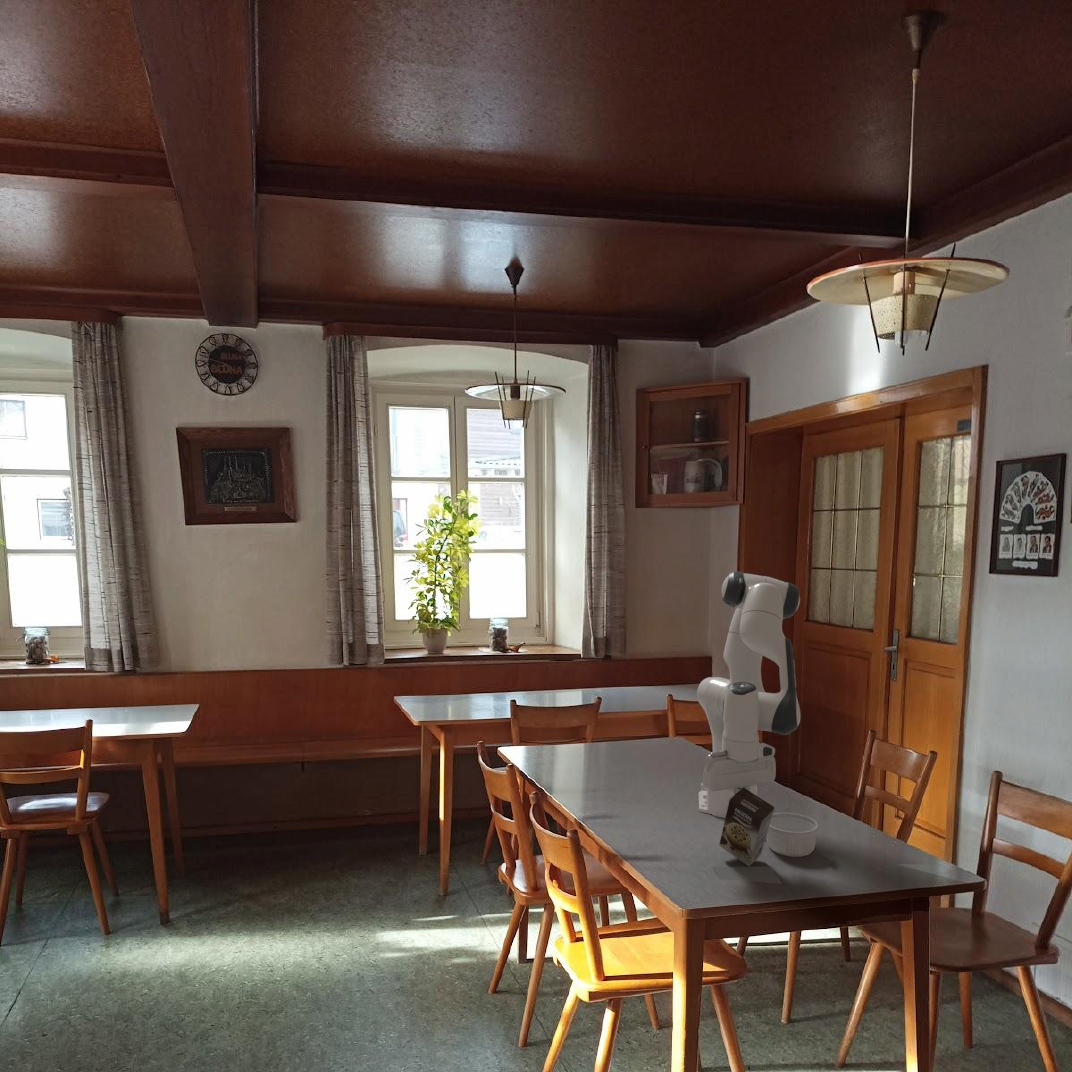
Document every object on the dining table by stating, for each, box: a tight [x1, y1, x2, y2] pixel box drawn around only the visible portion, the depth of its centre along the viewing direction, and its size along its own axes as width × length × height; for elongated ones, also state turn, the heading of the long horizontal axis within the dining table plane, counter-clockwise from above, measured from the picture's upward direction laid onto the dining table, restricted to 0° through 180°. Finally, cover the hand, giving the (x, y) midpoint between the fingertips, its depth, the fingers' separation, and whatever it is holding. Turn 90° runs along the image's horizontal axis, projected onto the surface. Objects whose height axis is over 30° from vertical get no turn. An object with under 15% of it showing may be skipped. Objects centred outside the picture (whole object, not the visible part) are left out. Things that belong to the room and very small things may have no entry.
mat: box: [712, 866, 783, 885], centre depth 202 cm, size 10×14×1 cm
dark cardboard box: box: [718, 787, 775, 867], centre depth 209 cm, size 9×6×16 cm
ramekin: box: [766, 812, 819, 858], centre depth 219 cm, size 13×13×7 cm
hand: (738, 803), depth 214 cm, fingers closed
